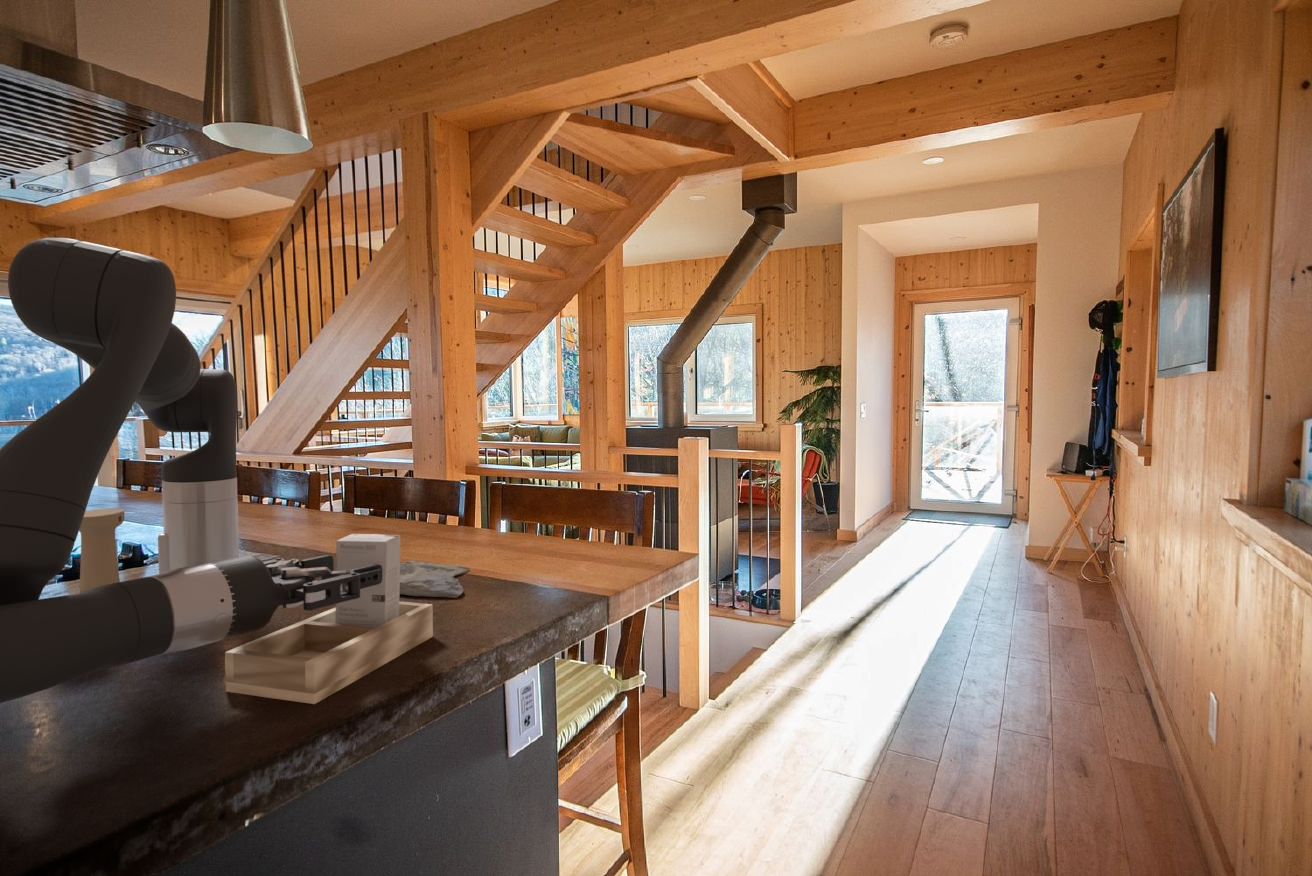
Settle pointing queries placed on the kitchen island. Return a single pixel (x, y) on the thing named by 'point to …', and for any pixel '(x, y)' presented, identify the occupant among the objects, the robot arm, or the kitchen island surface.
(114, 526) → the handle
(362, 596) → the skincare box
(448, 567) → the fossil rock
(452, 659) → the kitchen island surface
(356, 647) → the tray
